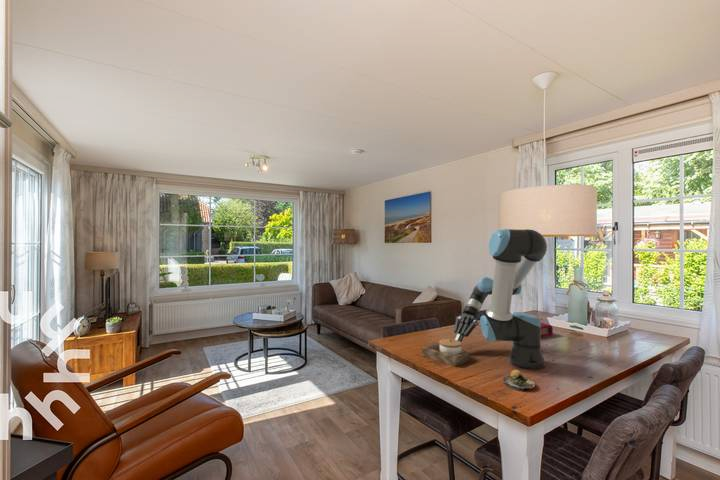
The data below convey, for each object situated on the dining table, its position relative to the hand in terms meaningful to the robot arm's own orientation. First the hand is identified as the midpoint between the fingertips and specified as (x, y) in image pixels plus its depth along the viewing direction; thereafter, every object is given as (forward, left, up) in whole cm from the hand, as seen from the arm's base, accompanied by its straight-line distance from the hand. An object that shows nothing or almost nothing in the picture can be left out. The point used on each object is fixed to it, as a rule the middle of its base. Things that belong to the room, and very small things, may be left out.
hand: (454, 346), depth 168 cm
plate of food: (-37, +12, -5) cm, 39 cm away
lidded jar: (-2, +6, -4) cm, 8 cm away
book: (-4, -70, -5) cm, 70 cm away
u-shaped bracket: (0, +10, -4) cm, 11 cm away
